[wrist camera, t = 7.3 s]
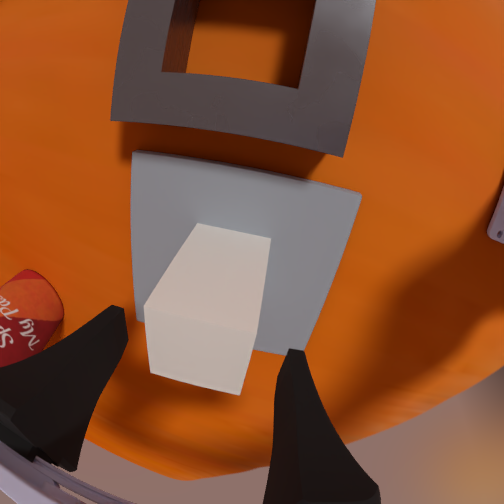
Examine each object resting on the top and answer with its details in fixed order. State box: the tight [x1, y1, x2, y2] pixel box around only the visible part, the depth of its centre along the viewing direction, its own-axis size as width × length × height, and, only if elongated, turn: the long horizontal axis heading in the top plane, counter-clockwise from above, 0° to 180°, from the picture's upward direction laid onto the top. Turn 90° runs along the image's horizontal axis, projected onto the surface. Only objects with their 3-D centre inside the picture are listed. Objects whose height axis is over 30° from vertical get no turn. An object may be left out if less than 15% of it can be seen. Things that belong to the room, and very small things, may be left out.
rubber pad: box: [131, 150, 362, 355], centre depth 17 cm, size 12×12×1 cm
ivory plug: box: [144, 223, 271, 395], centre depth 14 cm, size 4×4×7 cm
